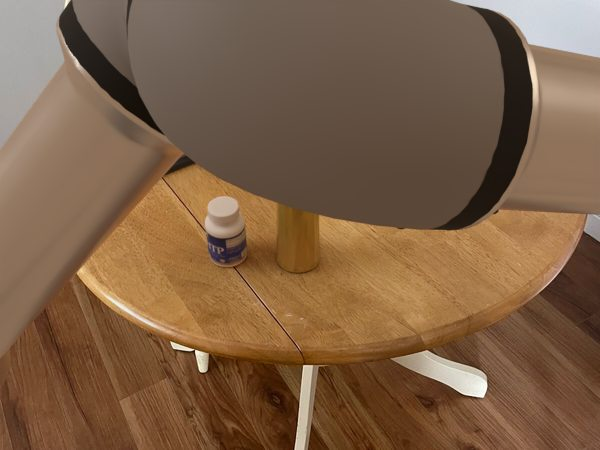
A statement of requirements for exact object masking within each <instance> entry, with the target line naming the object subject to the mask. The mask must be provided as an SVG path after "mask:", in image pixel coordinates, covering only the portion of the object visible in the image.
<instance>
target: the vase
mask: <svg viewBox="0 0 600 450" xmlns="http://www.w3.org/2000/svg"><path fill="white" fill-rule="evenodd" d="M275 261H276V263H277V264H278V266H279V267H280V268H281V269H283V270H285V271H287V272H290V273H294V274H301V273H306V272H309V271H311V270H313V269H315V267H317V266H318V264H319V263H320V261H321V250H320V215H318V214H314V213H310V212H306V211H302V210H298V209H294V208H291V207H288V206H285V205H282V204H279V203H276V248H275Z"/></svg>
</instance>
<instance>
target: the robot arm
mask: <svg viewBox="0 0 600 450" xmlns="http://www.w3.org/2000/svg"><path fill="white" fill-rule="evenodd" d="M55 30H56V35H57V38H58V42H59V45H60V49H61V52H62V56H63V59H64V61H63V62H62V64H61V65H60V67H59V68H58V69H57V71H56V72H55V73H54V75H53V76H52V77H51V79H50V80H49V81H48V83H47V84H46V86H45V87H44V88H43V90H42V91H41V92H40V94H39V95H38V97H37V98H36V100H35V101H34V102H33V103H32V105H31V106H30V108H29V109H28V110H27V112H26V113H25V115H24V116H23V117H22V119H21V120H20V121H19V123H18V124H17V126H16V127H15V128H14V130H12V132H11V134H10V135H9V136H8V138H7V139H6V141H5V142H4V143H3V145H1V148H0V389H1V388H2V387H3V385H4V384H5V382H6V380H7V378H8V376H9V374H10V373H9V372H10V369H11V361H12V359H11V349H10V348H11V347H12V346H13V345H14V344H15V343H16V342H17V341H18V340H19V338H20V337H21V336H22V335H23V334H24V333H25V332H26V330H28V328H29V327H30V326H31V325H32V324H33V322H35V320H36V319H37V318H38V317H39V316H40V315H41V314H42V312H44V310H45V309H46V308H47V307H48V306H49V305H50V303H52V302H53V300H54V299H55V298H56V297H57V296H58V295H59V293H60V292H62V290H64V288H65V287H66V286H67V284H69V282H70V281H71V280H72V279H73V278H74V277H75V276H76V274H77V273H78V272H79V271H80V270H81V269H82V268H83V267H84V266H85V264H87V262H88V261H89V260H90V259H91V258H92V256H94V254H95V253H96V252H97V251H98V250H99V248H101V247H102V245H103V244H104V243H105V242H106V241H107V240H108V238H110V236H111V235H112V234H113V233H114V232H115V231H116V230H117V229H118V228H119V226H120V225H121V224H122V223H123V222H124V221H125V220H126V219H127V217H129V215H130V214H131V213H132V212H133V211H134V210H135V208H136V207H137V206H138V205H139V204H140V203H141V201H143V199H144V198H145V197H146V196H147V195H148V194H149V193H150V191H152V189H153V188H154V187H155V186H156V185H157V184H158V183H159V182H160V180H161V179H162V178H163V177H164V176H166V175H165V173H166V172H167V171H168V170H169V169H170V168H171V167H172V166H173V164H174V163H175V162H176V161H177V160H178V159H179V158H180V157H181V156H182V155H183V154H185V155H187V156H188V157H189V158H190V159H191V160H193V161H194V162H195V163H194V164H196V165H197V166H199V167H200V168H202V169H203V170H204V171H207V173H210V174H211V175H212V176H214V177H215V178H217V179H219V180H221V181H223V182H226V183H228V184H229V185H232V186H234V187H236V188H238V189H240V190H242V191H244V192H246V193H249V194H251V195H254V196H256V197H259V198H262V199H265V200H267V201H271V202H274V203H276V204H277V203H279V204H282V205H285V206H288V207H291V208H294V209H298V210H302V211H306V212H310V213H314V214H318V215H319V216H322V217H325V218H329V219H333V220H340V221H346V222H353V223H358V224H363V225H370V226H375V227H383V228H384V227H386V228H396V229H398V230H417V231H418V230H419V231H424V230H426V231H427V230H429V231H430V230H431V231H447V232H448V231H449V232H450V231H463V230H467V229H471V228H472V227H475V226H478V225H479V224H481V223H482V222H483V223H484V221H486V220H488V219H489V218H490V217H491V216H492V215H496V214H498V213H499V211H517V212H534V213H535V212H536V213H537V212H539V213H553V214H555V213H557V214H573V215H574V214H575V215H591V216H592V215H593V216H594V215H595V216H600V57H599V56H594V55H588V54H583V53H577V52H574V51H573V52H572V51H569V50H562V49H558V48H553V47H552V48H551V47H546V46H542V45H536V44H531V43H529V42H528V40H527V38H526V36H525V35H524V33H523V32H522V30H521V28H520V27H519V26H518V25H517V24H516V23H515V22H514V21H513V20H512V19H511V18H509V17H508V16H507V15H505V14H503V13H501V12H500V11H499V12H498V11H495V10H492V9H490V8H484V7H479V6H475V5H471V4H466V3H461V2H457V1H455V0H69V1H68V3H67V5H65V6H64V9H63V10H62V11H61V13H60V15H59V16H58V18H57V19H56V24H55Z"/></svg>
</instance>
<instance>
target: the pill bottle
mask: <svg viewBox="0 0 600 450" xmlns="http://www.w3.org/2000/svg"><path fill="white" fill-rule="evenodd" d="M206 208H207V215H206V217H205V219H204V231H205V237H206V244H207V251H208V257H209V260H210V261H211V262H212V263H213V264H214V265H216V266H218V267H221V268H233V267H235V266H238V265H240V264H242V263H243V262H244V261H245V259H246V258H247V256H248V245H247V244H248V242H247V230H246V229H247V228H246V220H245V219H246V218H245V217H244V215H243V214H242V212H241V211H240V205H239V202H238V200H236V198H234V197H231V196H228V195H223V196H222V195H221V196H217V197H214V198H213V199H211V200H210V201H209V202H208V204H207V207H206Z"/></svg>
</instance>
